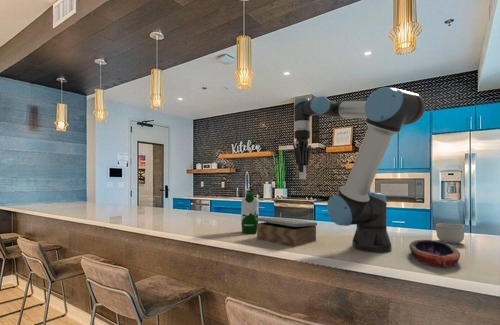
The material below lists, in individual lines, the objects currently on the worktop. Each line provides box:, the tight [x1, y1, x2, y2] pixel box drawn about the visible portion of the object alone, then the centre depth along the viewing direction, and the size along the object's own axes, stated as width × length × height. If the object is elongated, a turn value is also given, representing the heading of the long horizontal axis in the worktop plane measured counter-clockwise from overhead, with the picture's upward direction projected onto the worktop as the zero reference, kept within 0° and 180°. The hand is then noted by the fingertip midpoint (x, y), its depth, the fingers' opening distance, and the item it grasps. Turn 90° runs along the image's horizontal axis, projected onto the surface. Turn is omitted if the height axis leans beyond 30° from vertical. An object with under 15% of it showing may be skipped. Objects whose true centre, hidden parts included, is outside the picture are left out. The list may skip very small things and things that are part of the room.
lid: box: [256, 216, 318, 227], centre depth 139 cm, size 23×17×2 cm
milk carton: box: [240, 193, 260, 235], centre depth 156 cm, size 9×9×20 cm
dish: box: [408, 239, 461, 269], centre depth 110 cm, size 16×31×5 cm, turn 153°
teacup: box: [435, 222, 465, 245], centre depth 138 cm, size 14×11×8 cm
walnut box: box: [256, 222, 317, 248], centre depth 139 cm, size 22×16×7 cm
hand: (302, 179), depth 144 cm, fingers closed
